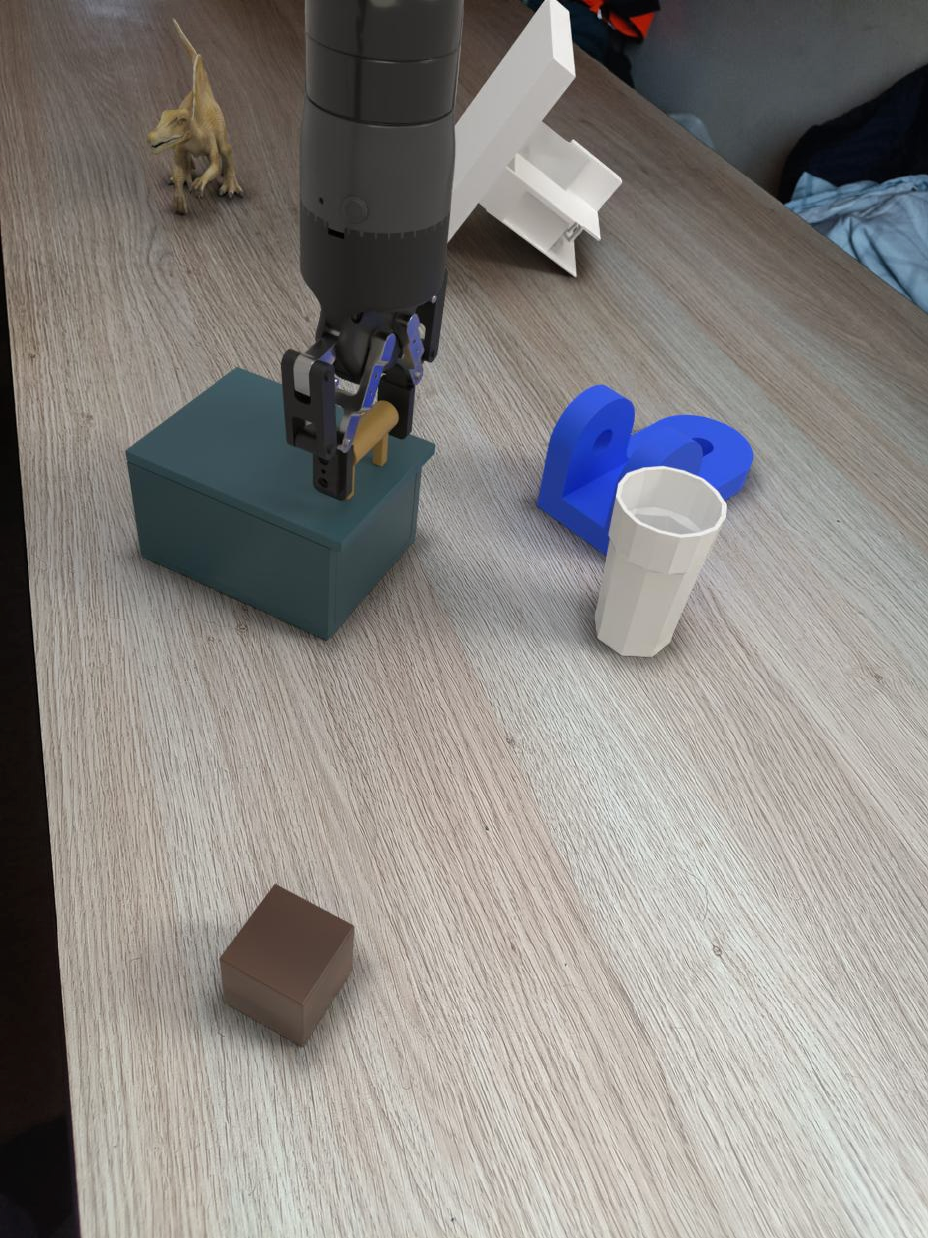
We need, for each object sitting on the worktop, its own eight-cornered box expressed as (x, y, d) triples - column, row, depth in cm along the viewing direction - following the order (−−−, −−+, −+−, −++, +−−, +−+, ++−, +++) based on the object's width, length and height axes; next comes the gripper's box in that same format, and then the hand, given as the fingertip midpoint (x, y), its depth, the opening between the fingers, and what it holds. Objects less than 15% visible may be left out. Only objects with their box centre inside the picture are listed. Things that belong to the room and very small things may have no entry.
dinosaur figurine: (154, 246, 101) (138, 98, 91) (179, 135, 119) (168, 2, 110) (237, 250, 102) (229, 104, 92) (249, 139, 120) (244, 9, 111)
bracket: (620, 566, 75) (649, 464, 69) (536, 505, 79) (556, 403, 73) (766, 474, 85) (803, 377, 79) (685, 424, 89) (714, 327, 82)
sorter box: (415, 540, 75) (424, 450, 70) (327, 641, 67) (329, 549, 62) (242, 467, 79) (237, 376, 73) (140, 555, 71) (126, 461, 66)
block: (303, 1048, 49) (302, 1006, 46) (224, 1003, 50) (218, 958, 47) (352, 970, 52) (355, 925, 49) (276, 929, 53) (274, 882, 50)
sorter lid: (434, 453, 69) (441, 386, 66) (341, 553, 62) (343, 483, 58) (237, 376, 73) (233, 308, 70) (126, 460, 66) (115, 390, 62)
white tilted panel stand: (405, 177, 114) (548, -25, 100) (523, 264, 121) (673, 86, 107) (385, 282, 98) (553, 57, 84) (523, 376, 104) (700, 183, 90)
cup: (598, 583, 74) (632, 454, 66) (690, 614, 73) (736, 486, 65) (570, 645, 69) (603, 514, 62) (668, 679, 68) (714, 550, 60)
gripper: (382, 128, 58) (370, 387, 70) (226, 221, 49) (242, 503, 61) (505, 166, 57) (471, 426, 68) (368, 270, 47) (356, 551, 59)
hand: (363, 461), depth 64 cm, fingers open, 6 cm apart
